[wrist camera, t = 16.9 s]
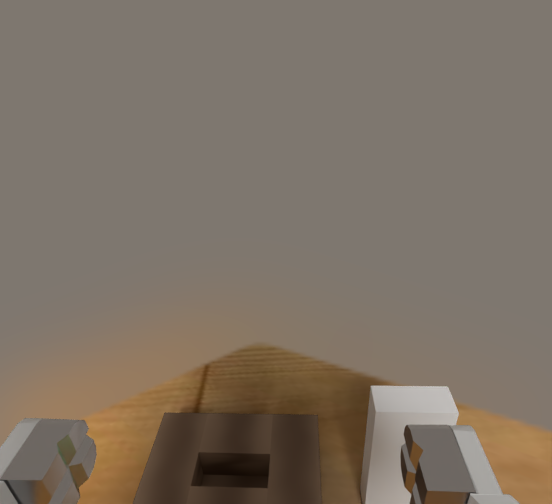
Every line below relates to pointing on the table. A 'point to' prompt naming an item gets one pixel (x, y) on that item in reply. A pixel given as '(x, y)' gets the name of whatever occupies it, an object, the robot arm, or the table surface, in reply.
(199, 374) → the table surface
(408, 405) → the tall white pillar
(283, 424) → the slotted box
